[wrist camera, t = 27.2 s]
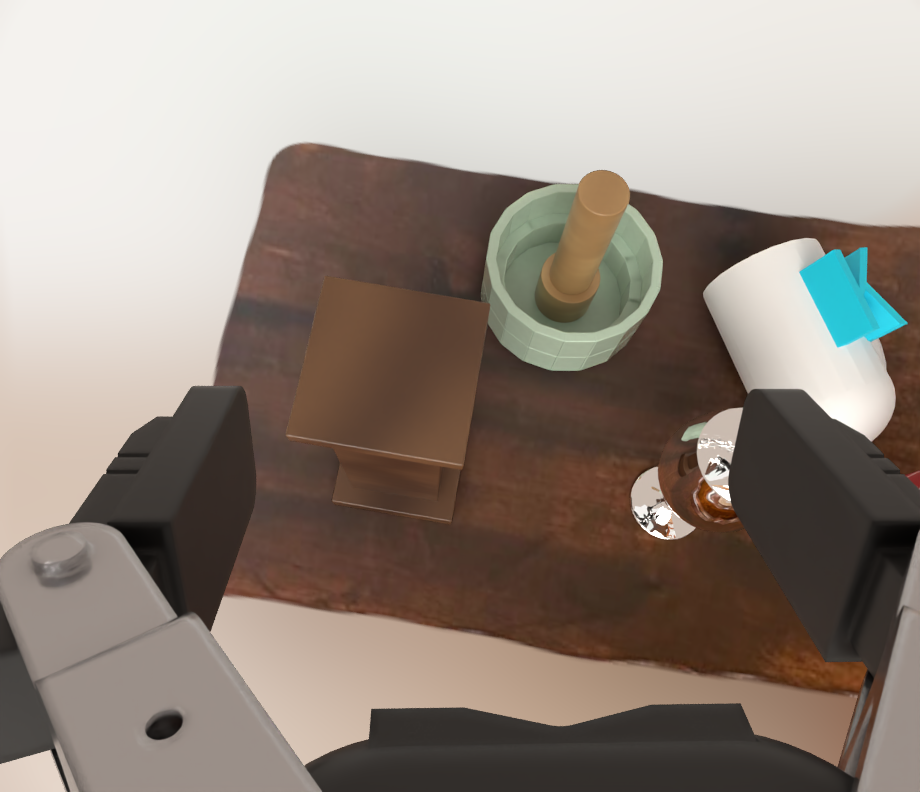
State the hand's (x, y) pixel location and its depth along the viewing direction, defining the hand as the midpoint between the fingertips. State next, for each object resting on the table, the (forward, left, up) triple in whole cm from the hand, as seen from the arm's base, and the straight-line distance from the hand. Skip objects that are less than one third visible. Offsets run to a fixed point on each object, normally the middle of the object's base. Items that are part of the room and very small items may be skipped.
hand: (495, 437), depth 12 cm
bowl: (+4, +19, -33) cm, 38 cm away
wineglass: (+12, +7, -33) cm, 36 cm away
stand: (-4, +7, -33) cm, 34 cm away
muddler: (+4, +19, -32) cm, 37 cm away
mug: (+20, +17, -33) cm, 42 cm away
